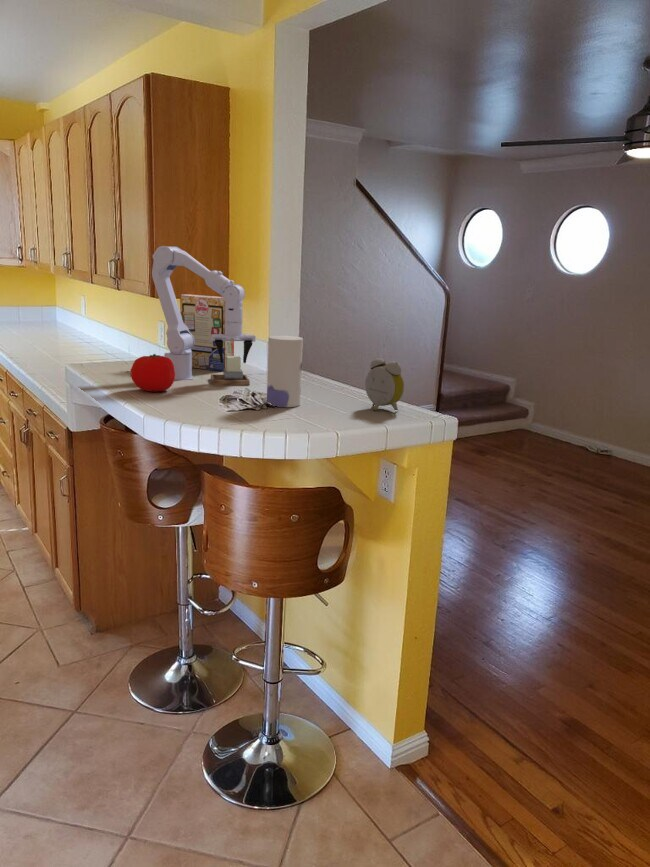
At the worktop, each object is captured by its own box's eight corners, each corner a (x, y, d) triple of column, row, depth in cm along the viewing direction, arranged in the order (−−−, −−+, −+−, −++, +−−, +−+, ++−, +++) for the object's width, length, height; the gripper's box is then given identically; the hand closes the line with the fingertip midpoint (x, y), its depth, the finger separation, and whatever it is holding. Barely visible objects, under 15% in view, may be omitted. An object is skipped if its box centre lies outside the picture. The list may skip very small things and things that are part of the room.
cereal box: (234, 370, 251) (235, 297, 244) (225, 372, 245) (225, 298, 238) (189, 364, 259) (189, 293, 252) (179, 366, 254) (179, 294, 247)
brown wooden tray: (213, 386, 220) (213, 380, 219) (210, 380, 230) (210, 374, 230) (249, 386, 223) (249, 380, 222) (245, 380, 233) (245, 374, 232)
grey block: (224, 383, 223) (224, 371, 222) (223, 380, 229) (223, 368, 228) (242, 383, 224) (242, 371, 223) (240, 380, 230) (240, 368, 229)
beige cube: (226, 371, 223) (227, 357, 221) (225, 368, 227) (225, 355, 226) (240, 371, 224) (240, 358, 223) (239, 369, 228) (239, 355, 227)
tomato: (178, 394, 206) (178, 356, 203) (133, 395, 200) (132, 357, 197) (171, 386, 216) (171, 351, 213) (128, 387, 211) (127, 351, 208)
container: (307, 405, 199) (310, 338, 194) (282, 409, 193) (284, 340, 187) (284, 399, 206) (287, 334, 201) (259, 403, 199) (261, 335, 194)
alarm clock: (403, 412, 196) (407, 362, 193) (387, 415, 192) (391, 363, 188) (374, 404, 205) (377, 356, 201) (358, 407, 200) (362, 357, 196)
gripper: (212, 322, 216) (212, 364, 219) (257, 323, 219) (256, 364, 223) (210, 320, 222) (210, 360, 226) (254, 321, 226) (253, 361, 229)
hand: (233, 362), depth 225 cm, fingers open, 7 cm apart
